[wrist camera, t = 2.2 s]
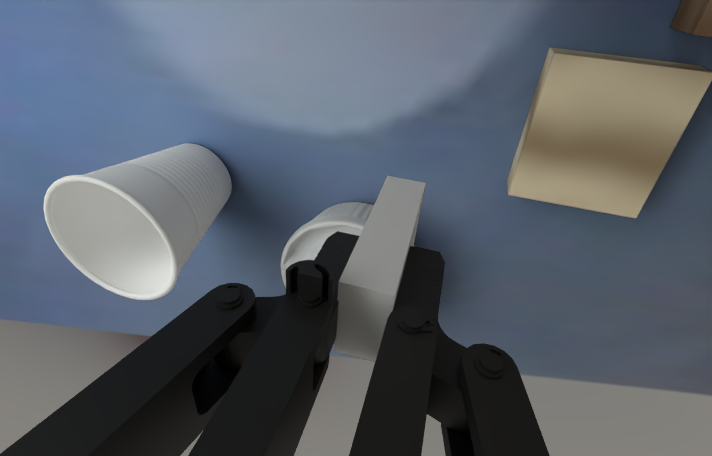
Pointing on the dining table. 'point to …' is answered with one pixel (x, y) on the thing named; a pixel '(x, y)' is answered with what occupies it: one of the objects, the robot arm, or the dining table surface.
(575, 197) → the tan square slab
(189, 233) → the cup
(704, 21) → the tray
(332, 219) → the ramekin
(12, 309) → the dining table surface
